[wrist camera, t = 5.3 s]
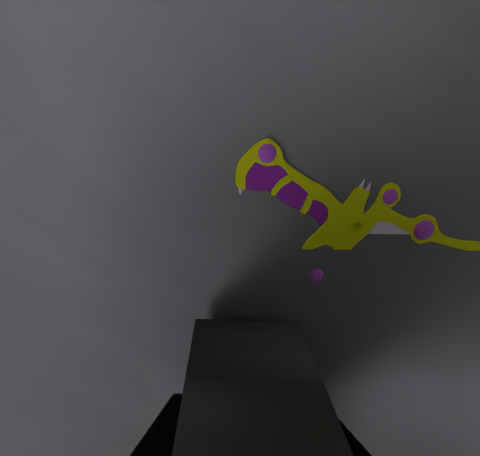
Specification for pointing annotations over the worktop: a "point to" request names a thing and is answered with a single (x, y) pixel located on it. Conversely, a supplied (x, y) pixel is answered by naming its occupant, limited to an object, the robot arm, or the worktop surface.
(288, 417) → the wooden mallet
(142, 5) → the worktop surface
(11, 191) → the worktop surface
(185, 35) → the worktop surface
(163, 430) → the robot arm
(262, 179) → the decorative knife
